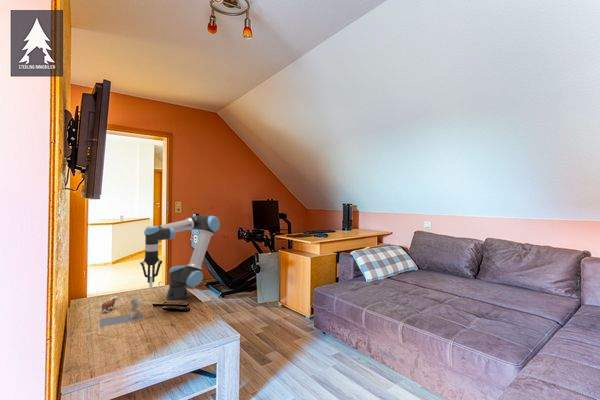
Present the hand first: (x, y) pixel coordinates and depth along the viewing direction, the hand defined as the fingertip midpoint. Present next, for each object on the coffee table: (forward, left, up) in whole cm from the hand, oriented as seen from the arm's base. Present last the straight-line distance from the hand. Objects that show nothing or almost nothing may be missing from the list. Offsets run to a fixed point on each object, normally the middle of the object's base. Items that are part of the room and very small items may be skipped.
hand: (150, 287), depth 190 cm
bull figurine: (+22, -20, -18) cm, 34 cm away
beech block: (+9, 0, -17) cm, 19 cm away
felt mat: (+16, 0, -17) cm, 24 cm away
